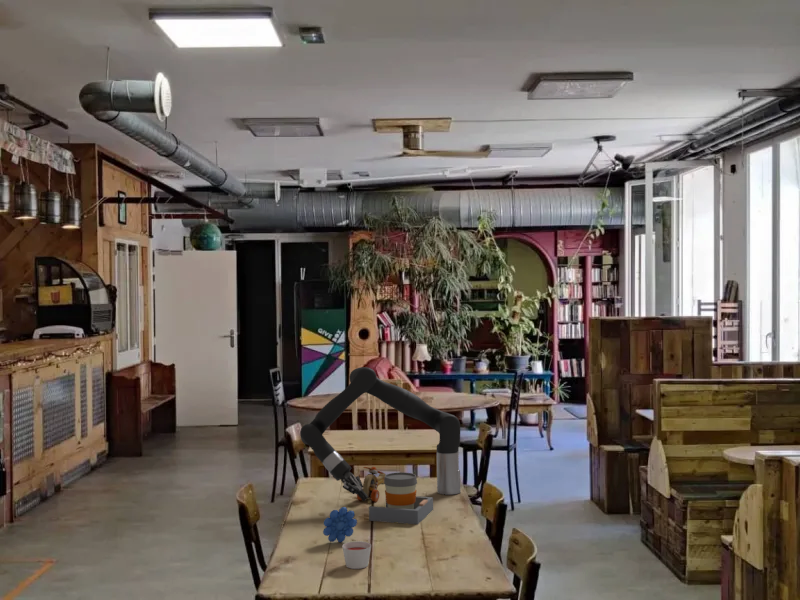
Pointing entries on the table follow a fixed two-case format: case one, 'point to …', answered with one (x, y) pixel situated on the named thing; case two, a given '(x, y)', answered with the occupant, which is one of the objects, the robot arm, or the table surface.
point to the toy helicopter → (372, 484)
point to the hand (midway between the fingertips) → (366, 499)
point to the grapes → (339, 525)
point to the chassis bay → (403, 512)
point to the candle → (356, 554)
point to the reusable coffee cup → (400, 490)
